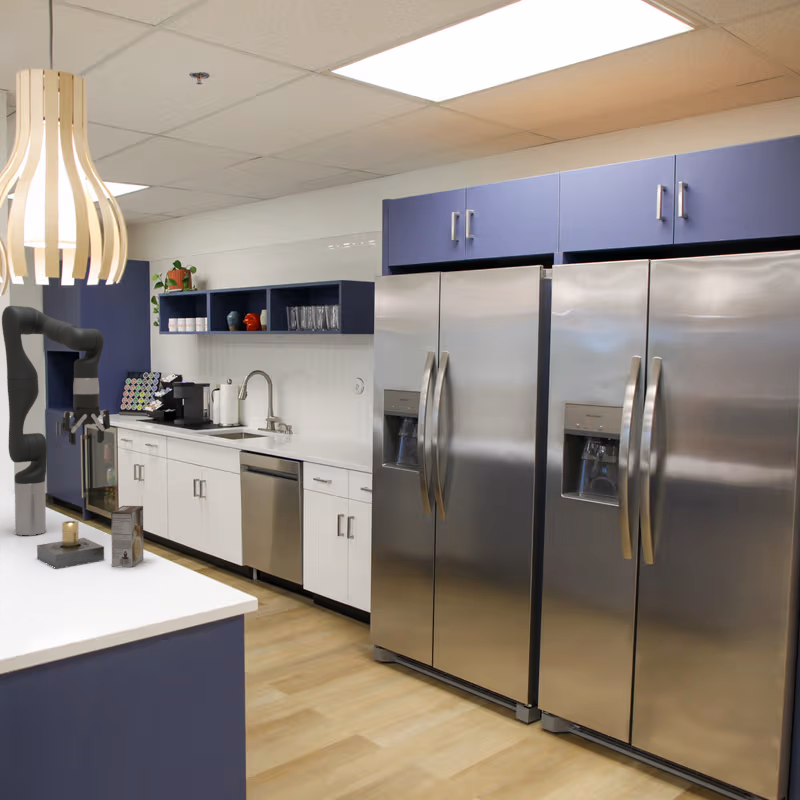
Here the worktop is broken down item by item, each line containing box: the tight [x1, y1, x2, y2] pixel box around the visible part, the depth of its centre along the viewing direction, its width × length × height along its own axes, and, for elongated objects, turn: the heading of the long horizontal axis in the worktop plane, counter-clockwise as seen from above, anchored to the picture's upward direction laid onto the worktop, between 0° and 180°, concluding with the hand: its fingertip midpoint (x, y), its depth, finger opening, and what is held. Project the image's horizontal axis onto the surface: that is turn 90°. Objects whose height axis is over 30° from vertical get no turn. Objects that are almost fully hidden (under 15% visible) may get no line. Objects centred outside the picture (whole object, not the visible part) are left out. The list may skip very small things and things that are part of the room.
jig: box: [36, 537, 105, 569], centre depth 235 cm, size 14×14×4 cm
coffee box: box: [110, 505, 144, 568], centre depth 233 cm, size 9×6×16 cm
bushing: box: [61, 520, 80, 549], centre depth 235 cm, size 4×4×10 cm
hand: (86, 443), depth 251 cm, fingers open, 8 cm apart
